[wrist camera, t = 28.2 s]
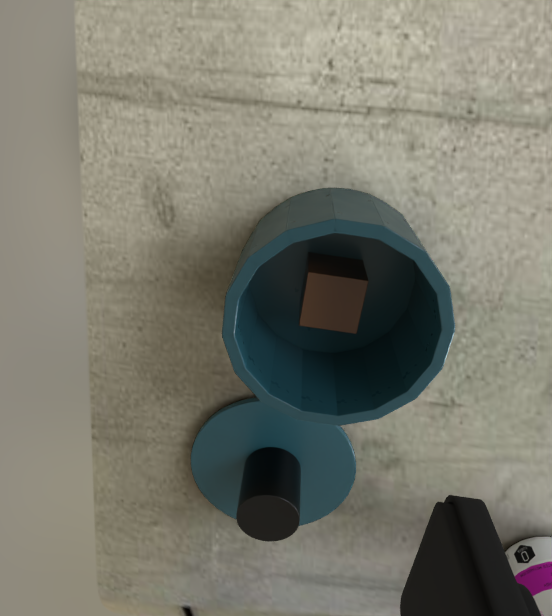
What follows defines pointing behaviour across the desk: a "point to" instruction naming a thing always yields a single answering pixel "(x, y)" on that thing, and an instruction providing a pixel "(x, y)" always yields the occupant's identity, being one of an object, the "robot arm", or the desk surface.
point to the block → (332, 293)
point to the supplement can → (534, 569)
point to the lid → (271, 468)
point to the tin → (326, 343)
